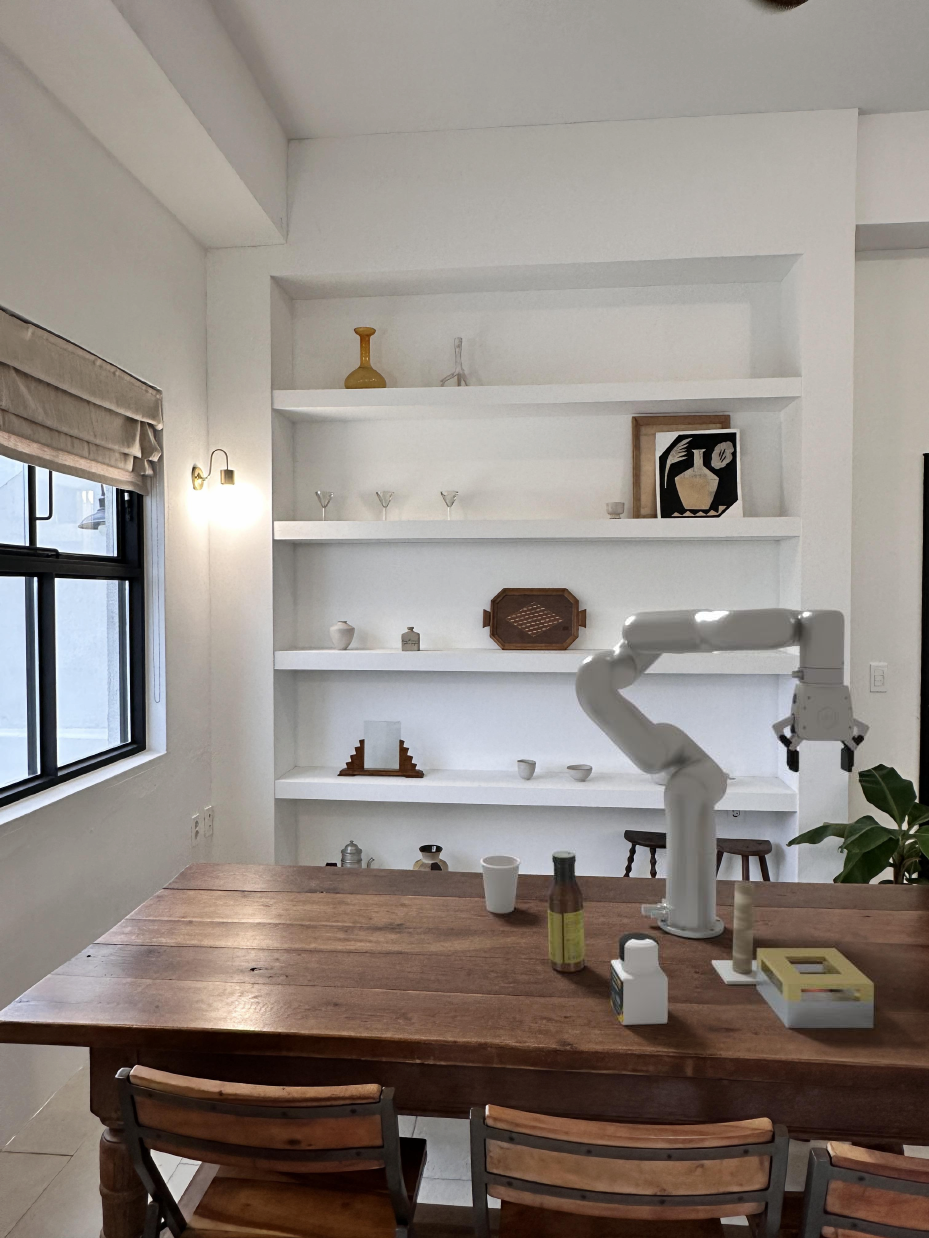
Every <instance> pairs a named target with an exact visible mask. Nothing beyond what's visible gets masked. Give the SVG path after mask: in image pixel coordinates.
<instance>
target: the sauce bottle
mask: <svg viewBox="0 0 929 1238" xmlns="http://www.w3.org/2000/svg"><path fill="white" fill-rule="evenodd" d="M576 858H577V857H576V853H574V852H572V851H569V850H559V851H558V850H557V851H555V852H553V853H552V856H551V860H552V863H553V876H552V877H553V880H552V881H551V883H550V884H549V887H548V889H547V902H548V903H547V919H548V920H547V921H548V922H547V924H548V925H547V926H548V955H549V961H550V965H551V967H552V969H554V970H557V971H559V972H563V973H575V972H578V971H581V970H582V969H584V966H585V964H586V963H585V960H586V959H585V958H586V953H585V951H586V948H585V947H586V945H585V942H586V941H585V920H584V919H585V918H584V903H583V893H582V891H581V888H580V886H579V885H578V882H577V879H576V878H577V877H576V870H575V869H576V861H577V859H576Z"/></svg>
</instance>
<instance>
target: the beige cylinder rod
mask: <svg viewBox="0 0 929 1238" xmlns="http://www.w3.org/2000/svg"><path fill="white" fill-rule="evenodd" d="M733 904H734V905H733V934H732V936H733V937H732V960H733V963H732V969H733V971H734V972H736V973H739V974H750V973H752V960H753V950H754V949H753V947H754V944H753V943H754V919H755V918H754V915H755V913H754V912H755V911H754V910H755V884H754V883H753V882H750V881H747V880H738V881H735V882H734V903H733Z"/></svg>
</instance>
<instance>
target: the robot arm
mask: <svg viewBox="0 0 929 1238" xmlns="http://www.w3.org/2000/svg"><path fill="white" fill-rule="evenodd" d="M621 637H622V639H621V640H620V641H619V642H618V643H617V644H616V646H615V647H613V649H611V650H604V651H602V650H601V651H598V652H594V653H592V654H590V655H588V656H587V657H586V658H585V659H583V660H582V662H581V663H580V665H579V667H578V669H577V672H576V675H575V680H574V681H575V682H574V683H575V684H574V685H575V687H574V690H575V695H576V698H577V702H578V703H579V705H580V707H581V709H582V711H583V712H584V713H585V714H586V716H587V717H588V718H589V720H591V721H592V722H593V724H595V725H596V726H597V728H599V729H600V730H601V731H602V732H603V734H605V735H606V736H607V737H608V739H609V740H610V741H611V742H612V743H613V744H614V745H615V746H616V747H617V749H619V750H620V751H621V752H622V753H623V754H624V755H625V756H626V758H628V759H629V760H630V762H632V764H634V766H635V767H637V769H639V771H641V772H643V773H645V774H647V775H659V774H662V773H664V775H666V777H667V778H668V779H667V781H666V783H665V786H664V791H663V805H664V811H665V812H664V813H665V825H666V826H665V829H666V830H665V831H666V833H665V835H666V836H665V837H666V839H665V840H666V841H665V842H666V843H665V847H666V850H665V851H666V855H665V856H666V860H665V861H666V868H665V869H666V872H665V876H666V877H665V881H666V882H665V898H661V903H660V902H658V903H657V904H641V913H642V915H644V916H645V915H646V916H647V915H649V916H650V917H651V919H657V924H658V926H659V927H660V928H661V929H662V930H664V931H665V932H667V933H669V934H671V935H675V936H678V937H683V938H691V939H707V938H708V939H709V938H715V937H717V936H720V935H721V934H722V933H723V932H724V930H725V923H724V922H723V920H722V919H721V918H720V917H719V916H717V915H716V914H717V911H716V910H717V905H716V904H717V825H716V815H715V807H716V805H717V804H719V802H721V801H722V799H723V798H724V797H725V795H726V793H727V789H728V780H727V776H726V774H725V772H724V770H723V769H722V767H721V766H720V765H719V764H718V763H717V762H716V761H715V760H714V759H713V758H712V757H711V756H710V755H709V754H708V753H707V752H706V751H705V750H704V749H703V748H702V747H700V745H699V744H697V742H695V740H693V739H692V738H691V736H689V735H688V734H687V733H686V732H685V731H684V730H682V729H681V728H679V727H678V726H677V725H675V724H672V723H669V722H657V723H655V722H653V720H651V719H649V718H648V717H647V716H646V715H645V714H644V713H643V712H642V711H641V710H640V708H638V707H637V705H635V704H634V703H633V702H631V701H630V699H627V698H626V697H625V696H623V695H622V693H620V691H619V690H624V689H625V688H626V689H627V688H628V687H630V686H632V685H633V684H634V683H635V682H636V681H638V679H640V678H641V677H642V676H643V675H644V674H645V673H646V672H647V671H648V670H649V669H650V668H651V667H652V665H654V664H655V663H656V662H657V660H659V659H660V658H661V656H663V654H680V653H681V654H690V653H692V654H693V653H694V654H695V653H697V654H700V653H708V654H709V653H713V652H732V651H733V652H734V651H735V652H736V651H737V652H738V651H739V652H740V651H741V652H742V651H774V650H779V649H784V648H791V647H799V652H798V653H799V657H798V658H799V660H798V663H799V664H798V667H797V670H792V671H791V678H792V679H797V681H798V683H796V684H795V686H794V689H793V693H792V697H791V698H792V700H791V706H790V714H789V716H787V717H785V718H783V719H781V720H779V721H777V722H776V723H773V724H772V725H771V728H772V730H773V732H774V734H775V736H776V739H777V740H778V741H779V742H780V743H781V744H782V745H783V746H784V748H785V749H786V767H788V770H790V771H791V772H793V773H799V772H800V750H798V748H799V746H800V745H801V743H802V742H803V741H807V742H808V741H809V742H840V743H841V744H842V745H843V747H841V749H840V770H842V771H844V772H846V773H852V772H853V767H854V766H855V751H857V749H858V747H859V745H861V744H862V743H863V742H864V740H865V737H866V736H867V734H868V732H869V730H870V726H869V725H868V724H866V723H864V722H862V721H860V720H858V719H856V718H855V717H854V712H853V704H852V696H851V691H850V687H849V685H845V682H844V681H845V615H844V613H843V612H841V610H837V609H807V610H799V609H797V610H796V609H791V608H786V607H785V608H782V607H771V608H769V607H768V608H755V609H737V610H734V609H733V610H712V609H710V608H709V609H708V608H696V609H695V608H694V609H677V610H676V609H675V610H674V609H673V610H654V611H652V610H651V611H640V612H636V613H634V614H632V615H630V616H629V617H628V618H626V620H625V621H624V623H623V625H622V629H621ZM788 727H789V731H790V735H789V737H788V736H787V735H785V734H786V733H785V731H784V730H785V728H788ZM854 728H856V729H857V730H856V733H855V731H854V730H855V729H854Z"/></svg>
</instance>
